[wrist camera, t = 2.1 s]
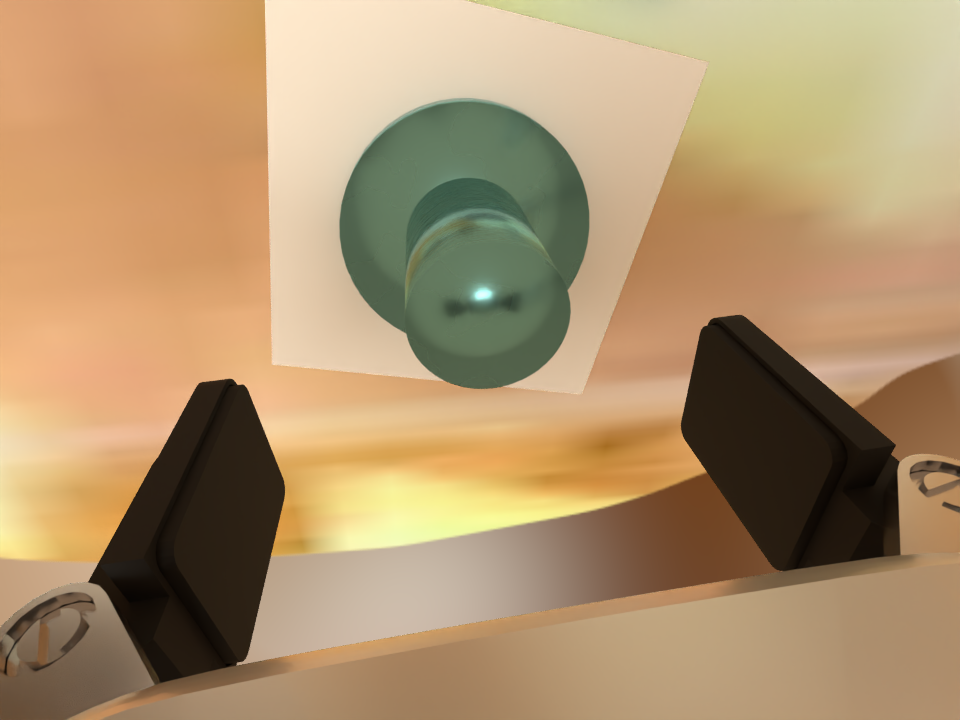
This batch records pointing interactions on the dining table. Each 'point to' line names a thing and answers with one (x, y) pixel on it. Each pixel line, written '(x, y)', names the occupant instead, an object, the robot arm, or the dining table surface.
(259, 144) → the dining table surface
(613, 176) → the housing
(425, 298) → the end cover
